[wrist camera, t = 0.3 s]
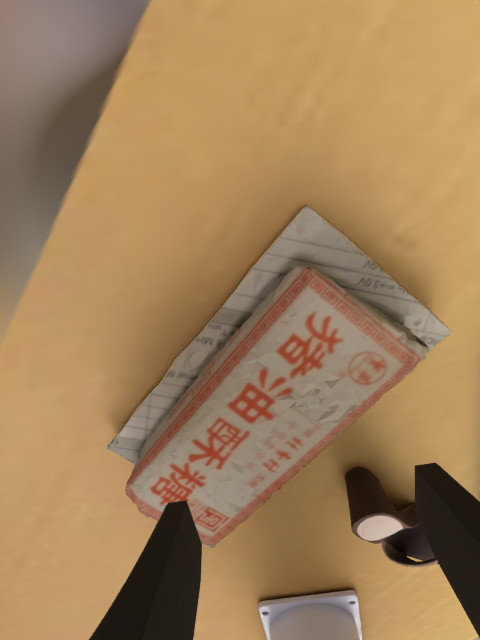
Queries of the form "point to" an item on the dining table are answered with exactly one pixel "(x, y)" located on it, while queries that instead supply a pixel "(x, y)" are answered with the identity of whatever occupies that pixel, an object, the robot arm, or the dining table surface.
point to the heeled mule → (386, 521)
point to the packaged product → (273, 378)
